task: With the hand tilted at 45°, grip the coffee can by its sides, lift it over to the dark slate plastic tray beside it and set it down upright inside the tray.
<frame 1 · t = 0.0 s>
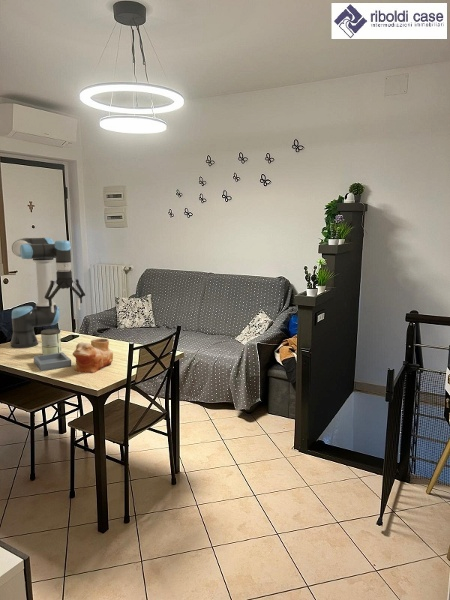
hand: (66, 310, 234), 28 cm above the table, tool pointing down, fingers open, 13 cm apart
tray: (52, 364, 234), on the table
ceramic vessel: (93, 367, 230), on the table
coffee can: (52, 355, 251), on the table
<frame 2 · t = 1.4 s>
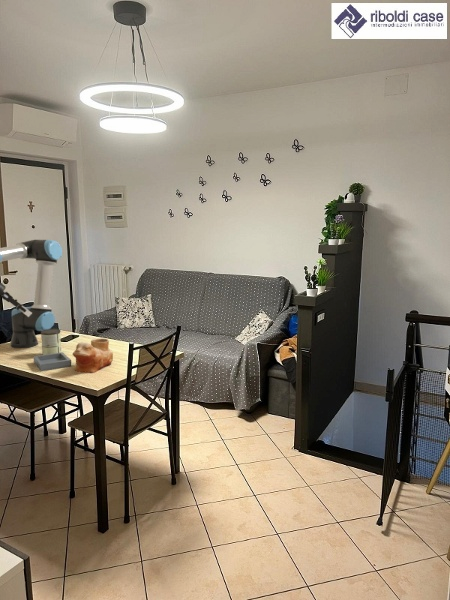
hand: (27, 312, 240), 26 cm above the table, tool tilted 45°, fingers open, 13 cm apart
nothing on the table moved.
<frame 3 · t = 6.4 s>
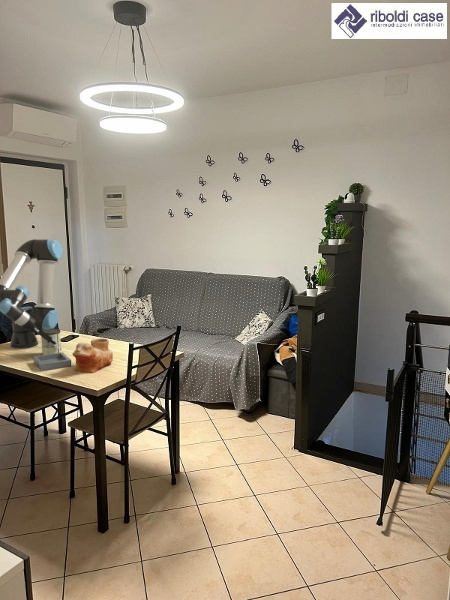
hand: (57, 344, 252), 5 cm above the table, tool tilted 45°, fingers closed on coffee can, 10 cm apart
coffee can: (52, 355, 251), on the table, touching gripper
everything else where it was.
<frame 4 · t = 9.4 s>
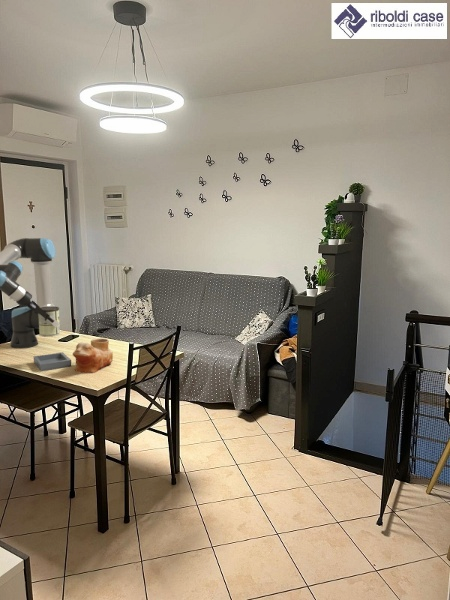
hand: (55, 323, 232), 22 cm above the table, tool tilted 45°, fingers closed on coffee can, 10 cm apart
coffee can: (49, 335, 231), point 16 cm above the table, touching gripper
everything else where it was.
when the fingers open (8 cm above the table, at t = 12.5 s): coffee can drops 1 cm, resting on tray.
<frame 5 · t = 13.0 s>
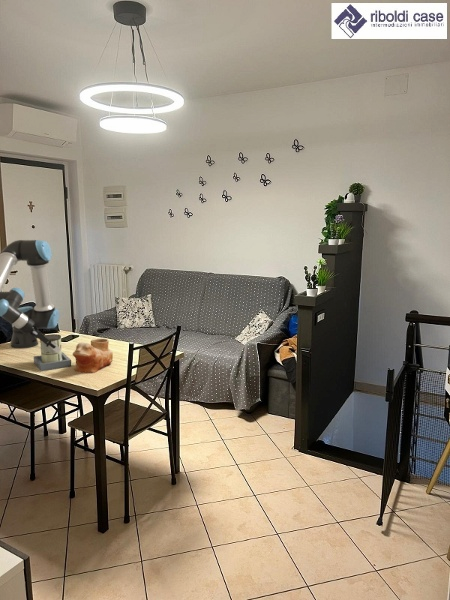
hand: (56, 348, 234), 9 cm above the table, tool tilted 45°, fingers open, 13 cm apart
coffee can: (52, 363, 234), point 1 cm above the table, touching tray
everything else where it was.
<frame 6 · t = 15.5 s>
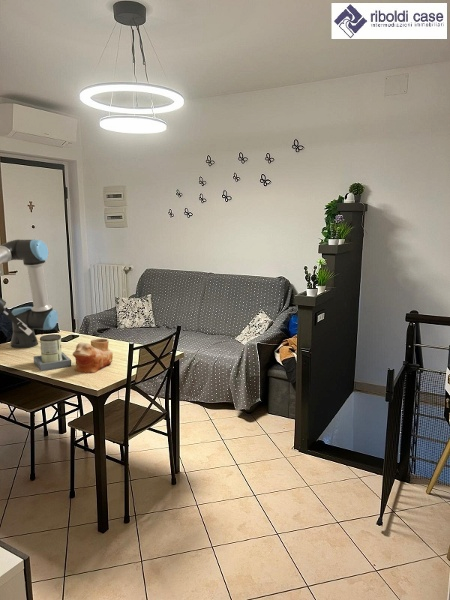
hand: (27, 330, 226), 19 cm above the table, tool tilted 40°, fingers open, 13 cm apart
nothing on the table moved.
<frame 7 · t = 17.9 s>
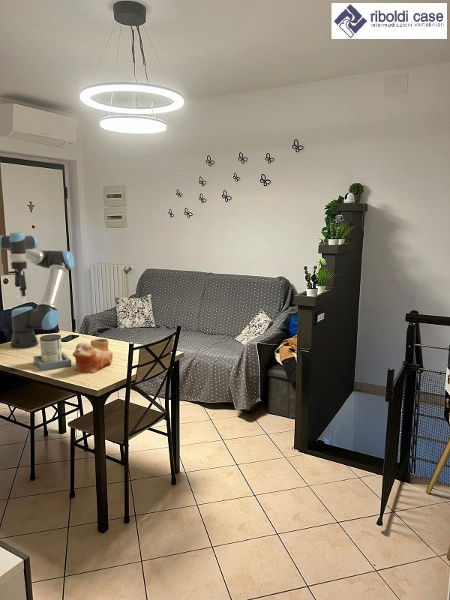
hand: (21, 300, 243), 32 cm above the table, tool pointing down, fingers open, 13 cm apart
nothing on the table moved.
at the end: coffee can inside the target area on the tray (0.1 cm from its centre), point 0.8 cm above the tray's base; coffee can tilted 0°; the gripper is holding nothing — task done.
